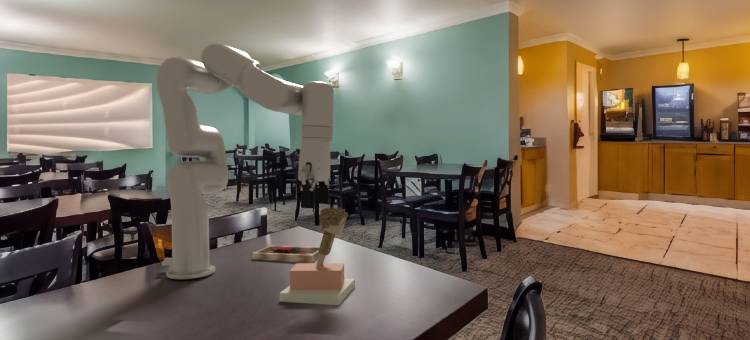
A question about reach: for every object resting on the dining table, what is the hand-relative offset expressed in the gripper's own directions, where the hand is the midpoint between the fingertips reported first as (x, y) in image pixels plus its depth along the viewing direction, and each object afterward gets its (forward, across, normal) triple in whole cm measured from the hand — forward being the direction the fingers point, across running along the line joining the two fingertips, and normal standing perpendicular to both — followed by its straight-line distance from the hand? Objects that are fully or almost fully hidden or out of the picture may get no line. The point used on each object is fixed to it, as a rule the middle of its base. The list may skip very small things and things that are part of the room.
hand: (315, 205), depth 99 cm
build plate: (+21, 0, +2) cm, 21 cm away
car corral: (+22, -30, -19) cm, 42 cm away
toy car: (+23, -28, -19) cm, 41 cm away
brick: (+19, 0, +1) cm, 19 cm away
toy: (+15, -1, +1) cm, 15 cm away
